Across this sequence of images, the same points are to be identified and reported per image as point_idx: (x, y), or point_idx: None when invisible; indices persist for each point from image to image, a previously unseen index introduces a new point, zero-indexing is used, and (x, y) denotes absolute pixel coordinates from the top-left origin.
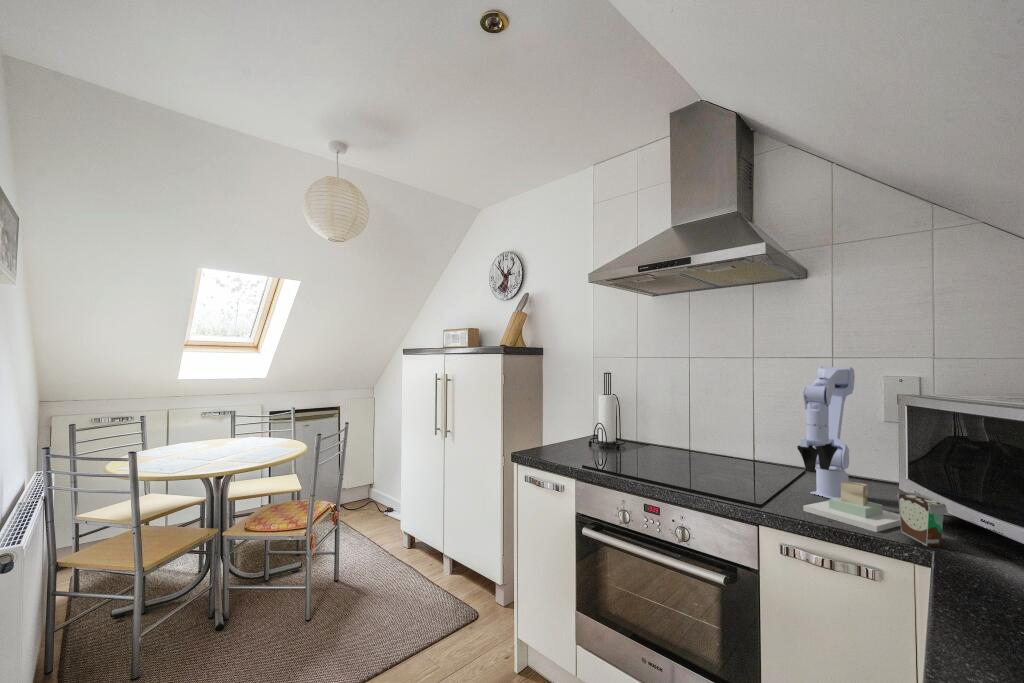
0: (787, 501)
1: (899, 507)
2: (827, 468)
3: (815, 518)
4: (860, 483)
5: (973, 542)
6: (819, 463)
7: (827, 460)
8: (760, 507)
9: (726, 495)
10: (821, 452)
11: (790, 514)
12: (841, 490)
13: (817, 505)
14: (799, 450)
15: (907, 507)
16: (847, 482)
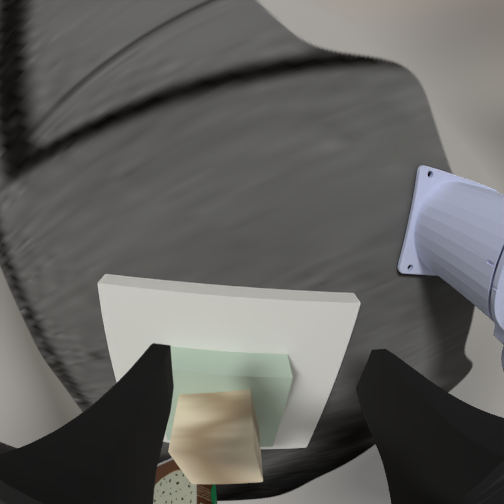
0: (176, 166)
1: (196, 488)
2: (360, 395)
3: (76, 326)
4: (256, 474)
5: (261, 483)
6: (391, 369)
7: (385, 439)
8: (10, 177)
9: (41, 25)
10: (436, 457)
11: (36, 269)
12: (172, 428)
13: (155, 310)
14: (19, 456)
15: (179, 501)
16: (217, 459)
